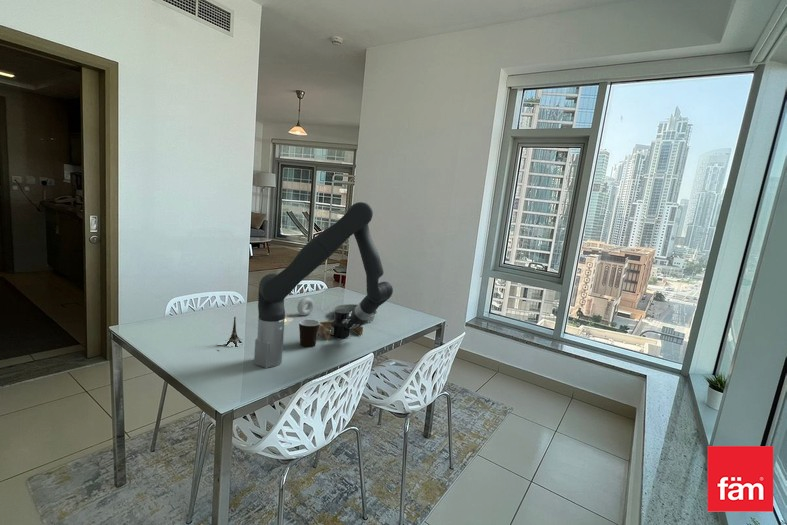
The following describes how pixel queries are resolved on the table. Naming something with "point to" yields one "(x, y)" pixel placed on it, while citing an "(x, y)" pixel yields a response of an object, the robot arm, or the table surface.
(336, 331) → the ink bottle
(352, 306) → the cake pan
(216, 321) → the table surface
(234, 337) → the eiffel tower figurine
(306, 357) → the table surface
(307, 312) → the donut
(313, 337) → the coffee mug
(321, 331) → the corral
